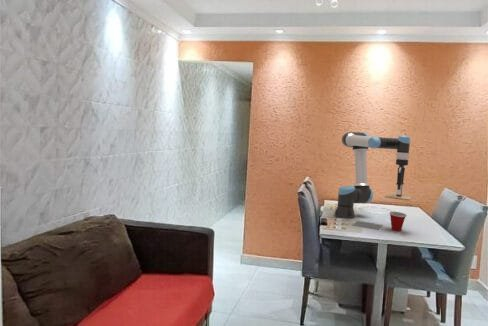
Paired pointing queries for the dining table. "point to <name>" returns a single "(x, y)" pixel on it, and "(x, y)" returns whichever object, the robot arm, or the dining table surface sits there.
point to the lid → (398, 196)
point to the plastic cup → (397, 220)
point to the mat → (367, 225)
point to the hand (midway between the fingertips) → (399, 194)
